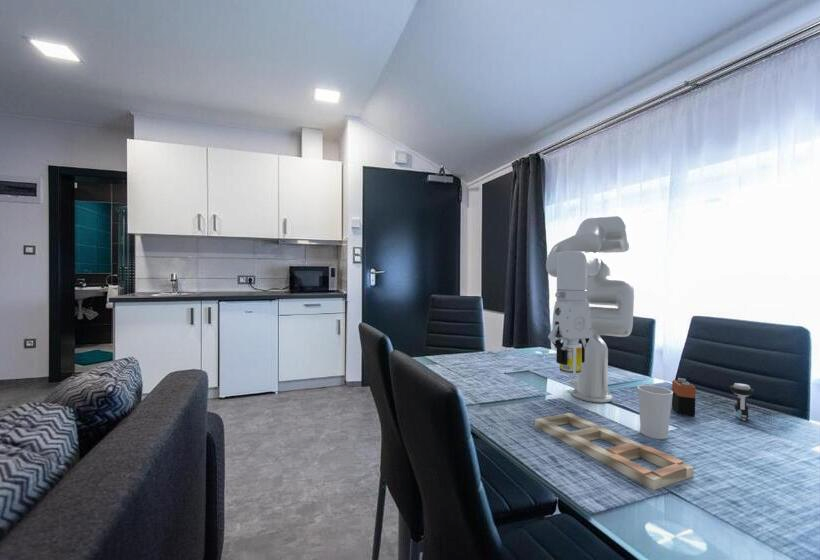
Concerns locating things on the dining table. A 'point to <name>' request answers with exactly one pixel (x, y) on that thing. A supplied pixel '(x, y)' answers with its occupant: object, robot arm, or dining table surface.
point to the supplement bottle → (573, 358)
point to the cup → (654, 410)
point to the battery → (683, 397)
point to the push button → (741, 399)
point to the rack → (617, 451)
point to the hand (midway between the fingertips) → (570, 361)
